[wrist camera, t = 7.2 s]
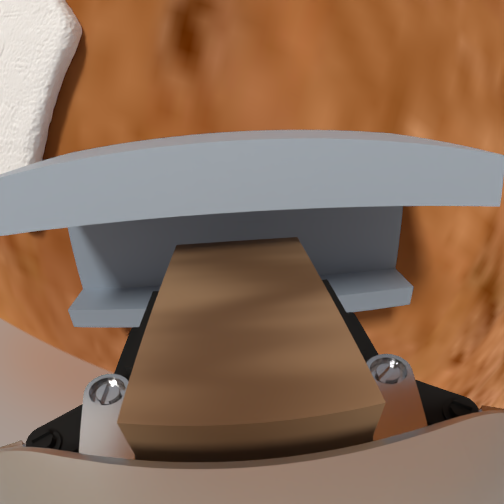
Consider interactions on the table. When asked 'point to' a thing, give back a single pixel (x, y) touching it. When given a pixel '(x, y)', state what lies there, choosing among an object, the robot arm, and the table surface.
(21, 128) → the flat white fragment
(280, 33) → the table surface
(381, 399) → the brown block
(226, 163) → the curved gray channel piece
